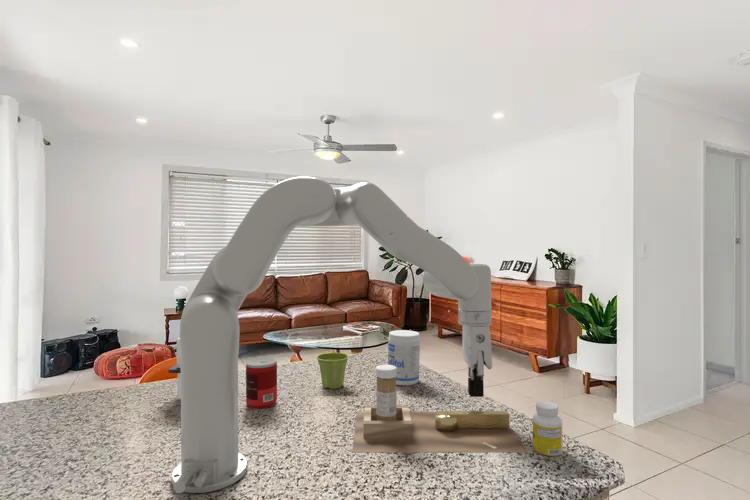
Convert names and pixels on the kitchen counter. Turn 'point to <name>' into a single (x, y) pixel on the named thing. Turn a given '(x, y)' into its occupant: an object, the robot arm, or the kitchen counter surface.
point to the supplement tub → (404, 355)
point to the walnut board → (438, 438)
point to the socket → (387, 424)
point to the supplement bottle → (547, 430)
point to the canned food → (261, 383)
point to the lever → (471, 419)
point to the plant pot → (332, 369)
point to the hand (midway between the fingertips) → (475, 395)
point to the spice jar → (386, 393)
